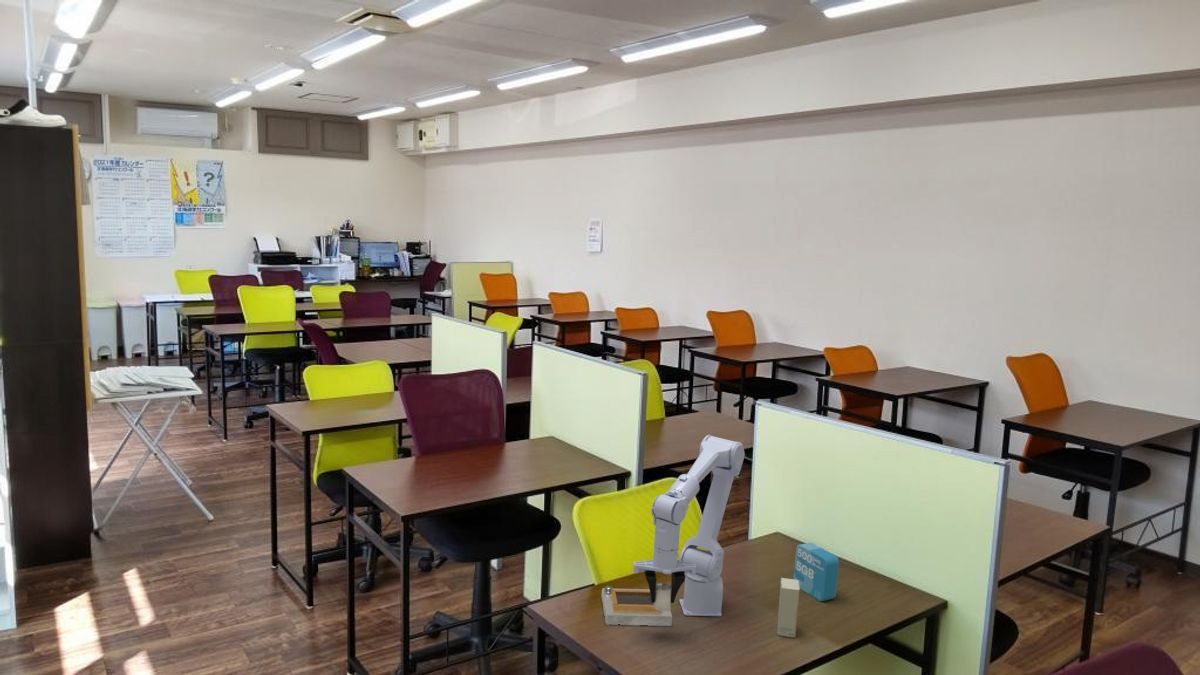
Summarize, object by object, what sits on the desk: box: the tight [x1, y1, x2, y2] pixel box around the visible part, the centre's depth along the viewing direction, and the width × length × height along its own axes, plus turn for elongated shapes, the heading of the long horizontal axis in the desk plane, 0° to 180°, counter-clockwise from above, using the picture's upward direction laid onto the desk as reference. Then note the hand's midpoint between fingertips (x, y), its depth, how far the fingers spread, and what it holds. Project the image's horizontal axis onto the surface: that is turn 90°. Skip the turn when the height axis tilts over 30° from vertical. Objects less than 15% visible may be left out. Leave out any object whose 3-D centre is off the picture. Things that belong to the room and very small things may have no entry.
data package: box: [792, 542, 840, 602], centre depth 218 cm, size 12×4×12 cm, turn 27°
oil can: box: [653, 582, 672, 611], centre depth 190 cm, size 4×4×6 cm
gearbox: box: [601, 585, 673, 627], centre depth 202 cm, size 16×14×4 cm
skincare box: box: [776, 577, 801, 638], centre depth 196 cm, size 6×4×12 cm
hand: (662, 600), depth 190 cm, fingers closed on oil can, 4 cm apart
